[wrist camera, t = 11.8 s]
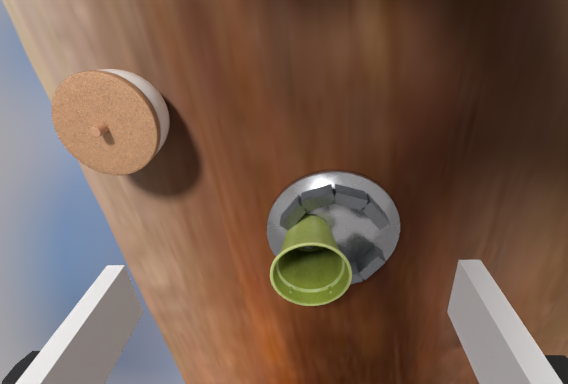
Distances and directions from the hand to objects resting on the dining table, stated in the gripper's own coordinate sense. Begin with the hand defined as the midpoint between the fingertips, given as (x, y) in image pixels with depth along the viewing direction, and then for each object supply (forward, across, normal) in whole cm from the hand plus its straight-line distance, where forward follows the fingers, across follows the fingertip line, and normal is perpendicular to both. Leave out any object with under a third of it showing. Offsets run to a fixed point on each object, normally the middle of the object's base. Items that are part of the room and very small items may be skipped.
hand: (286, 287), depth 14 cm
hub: (+29, +3, -18) cm, 34 cm away
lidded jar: (+29, -20, 0) cm, 35 cm away
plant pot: (+28, 0, -17) cm, 33 cm away
